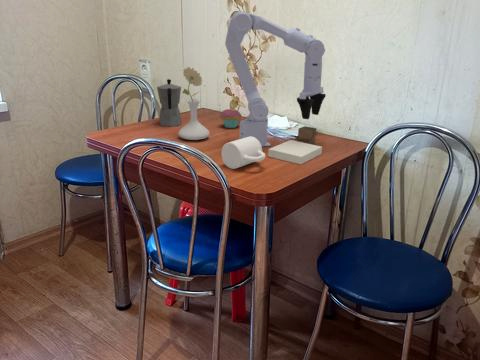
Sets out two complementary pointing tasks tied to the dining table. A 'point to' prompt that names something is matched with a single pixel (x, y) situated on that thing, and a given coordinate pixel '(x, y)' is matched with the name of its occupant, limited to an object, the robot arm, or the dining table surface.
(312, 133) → the walnut block
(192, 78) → the flower in vase
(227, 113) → the cupcake
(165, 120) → the coffeepot
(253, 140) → the mug
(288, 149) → the cream plinth
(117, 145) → the dining table surface
